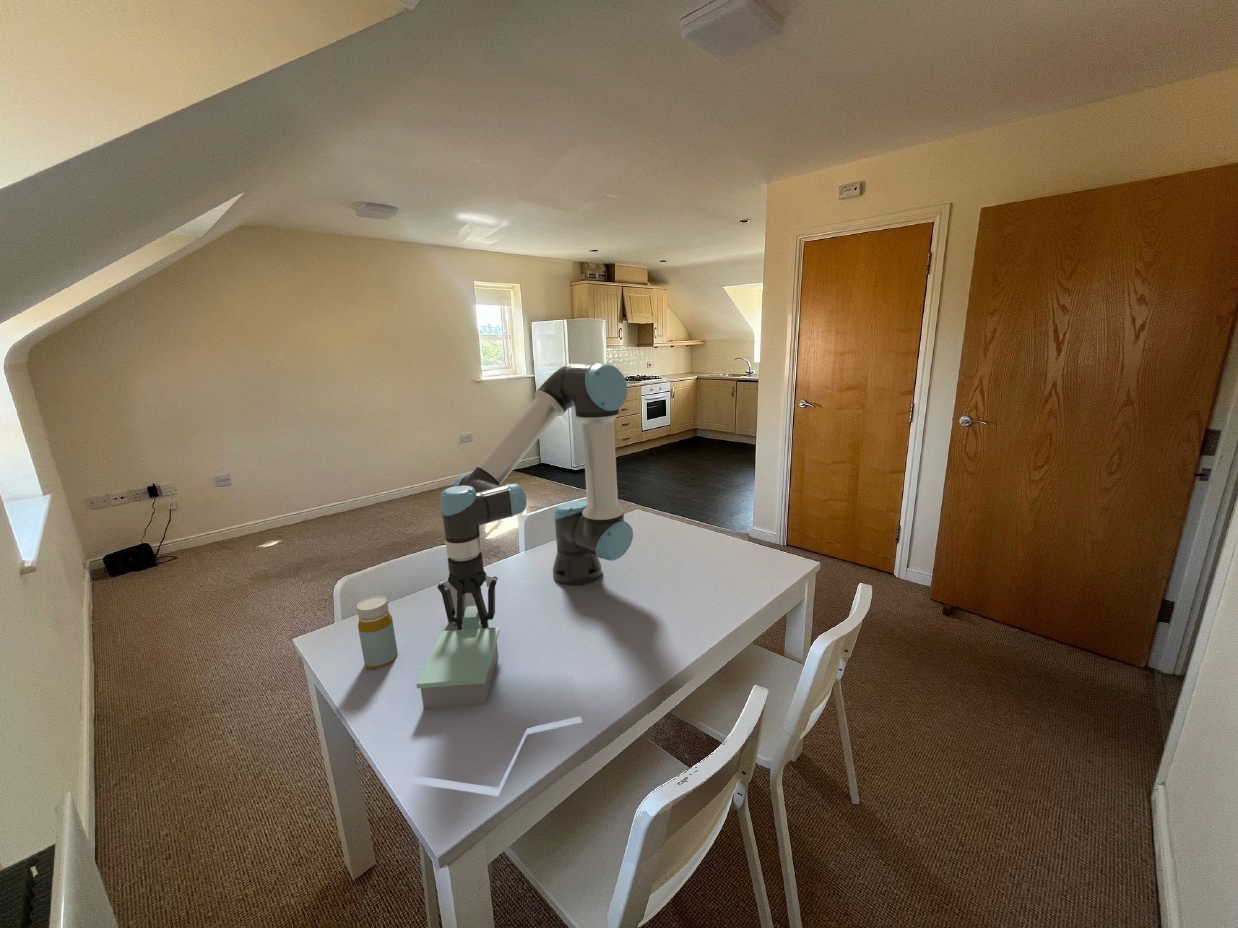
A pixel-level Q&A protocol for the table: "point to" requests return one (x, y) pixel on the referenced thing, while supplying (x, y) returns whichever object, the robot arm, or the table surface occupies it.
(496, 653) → the tub
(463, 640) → the lid
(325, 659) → the table surface
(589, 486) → the robot arm
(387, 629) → the bottle
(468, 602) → the can
